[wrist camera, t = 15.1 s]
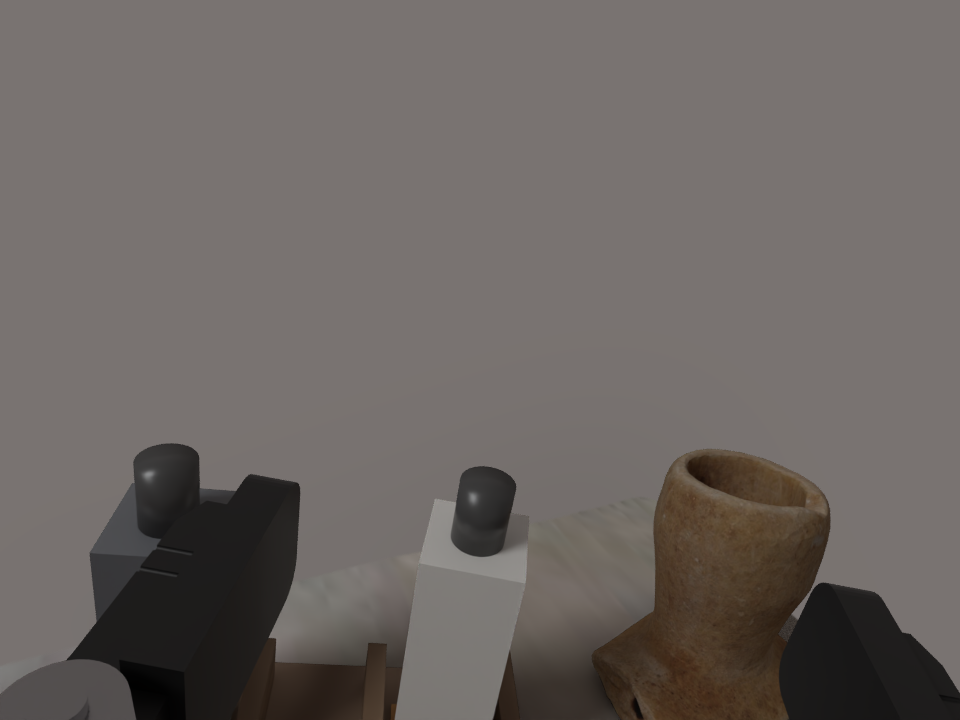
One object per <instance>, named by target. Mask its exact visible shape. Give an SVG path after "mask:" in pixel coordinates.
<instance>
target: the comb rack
mask: <svg viewBox="0 0 960 720" xmlns="http://www.w3.org/2000/svg"><path fill="white" fill-rule="evenodd" d="M386 648H387V644H379V643H369V644H368V652H367V660H366V666H348V665H325V664H302V663H279V662H275V652H276V639H275V638H268V640H267V642H266V644H265V646H264V648H263V650H262V652H261V654H260V657H259V659H258V661H257V663H256V665H255V667H254V669H253V671H252V674H251V676H250V678H249V680H248V682H247V684H246V686H245V688H244V690H243V693H242V695H241V697H240V699H239V701H238V703H237V705H236V707H235V710H234V712H233V714H232V716H231V720H395V714H396V707H397V701H398V695H399V688H400V682H401V675H402V669H403V668H394V667H386ZM493 720H520V716H519V709H518V702H517V695H516V688H515V681H514V675H513V668H512V661H511V654H510V650H509V655H508V659H507V663H506V667H505V671H504V675H503V679H502V683H501V687H500V692H499V696H498V700H497V704H496V708H495V712H494V716H493Z"/></svg>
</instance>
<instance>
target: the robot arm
mask: <svg viewBox="0 0 960 720" xmlns="http://www.w3.org/2000/svg"><path fill="white" fill-rule="evenodd" d="M299 505H300V486H299V484H298V483H296V482H291V481H285V480H280V479H275V478H269V477H264V476H259V475H253V474H250V475H248V476H247V477H246V478H245V479H244V481H243V482H242V484H241V485H240V487H239V488H238V489H237V491H236V492H235V494H234V495H233V497H232V498H231V499H230V501H229V502H228V504H223V503H217V502H212V501H205V502H204V503H202V504H201V505H199V506H197V507H196V508H194V509H193V510H191V511H189V512H188V513H186V514H185V515H183V516H181V517H180V518H178V519H177V520H176V521H175V522H174V524H173V525H172V526H171V527H170V529H169V530H168V531H167V533H166V534H165V535H164V536H163V538H162V539H161V540H160V542H159V543H158V544H157V548H156V550H153V551H152V552H151V553H150V554H149V556H148V557H147V558H146V560H145V561H144V562H143V563H142V565H141V567H140V570H139V572H138V571H136V572H135V574H134V575H133V576H132V577H131V579H130V580H129V581H128V583H127V584H126V585H125V586H124V588H123V589H122V590H121V592H120V593H119V594H118V595H117V597H116V598H115V599H114V601H113V602H112V603H111V604H110V606H109V607H108V608H107V610H106V611H105V612H104V613H103V615H102V616H101V617H100V619H99V620H98V621H97V622H96V624H95V625H94V626H93V628H92V629H91V630H90V632H89V633H88V634H87V635H86V637H85V638H84V639H83V641H82V642H81V643H80V644H79V646H78V647H77V648H76V649H75V651H74V652H73V653H72V654H71V655H70V657H69V658H68V659H67V660H66V661H62V662H58V663H54V664H51V665H48V666H45V667H42V668H40V669H37V670H35V671H33V672H31V673H29V674H27V675H26V676H24V677H22V678H21V679H19V680H17V681H16V682H15V683H13V684H12V685H11V686H9V687H8V688H7V689H6V690H5V691H4V692H2V693H1V694H0V720H230V718H231V716H232V714H233V712H234V710H235V707H236V705H237V703H238V701H239V699H240V697H241V695H242V693H243V690H244V688H245V686H246V684H247V682H248V680H249V678H250V676H251V674H252V671H253V669H254V667H255V665H256V663H257V661H258V659H259V657H260V654H261V652H262V650H263V648H264V646H265V644H266V642H267V640H268V638H269V635H270V633H271V631H272V629H273V627H274V625H275V623H276V621H277V618H278V616H279V614H280V612H281V610H282V608H283V606H284V604H285V601H286V599H287V596H288V594H289V591H290V588H291V584H292V581H293V577H294V571H295V566H296V558H297V541H298V523H299ZM779 686H780V692H781V696H782V700H783V703H784V705H785V708H786V711H787V714H788V717H789V720H960V693H959V692H958V690H957V688H956V687H955V685H954V683H953V682H952V680H951V679H950V677H949V675H948V674H947V672H946V671H945V669H944V667H943V666H942V665H941V664H940V663H939V662H938V661H937V660H936V659H935V658H934V657H933V656H932V655H931V654H930V653H929V652H928V651H927V650H926V649H925V648H924V647H923V646H922V645H921V644H920V643H919V642H918V641H916V639H915V638H914V637H912V635H911V634H906V633H902V632H901V630H900V628H899V627H898V625H897V623H896V622H895V620H894V618H893V617H892V615H891V613H890V611H889V610H888V608H887V607H886V605H885V603H884V601H883V600H882V599H881V597H880V596H879V595H878V594H876V593H875V592H871V591H866V590H861V589H855V588H850V587H845V586H840V585H834V584H829V583H820V584H818V585H817V586H816V587H815V588H814V589H813V591H812V593H811V594H810V597H809V599H808V601H807V603H806V605H805V607H804V609H803V611H802V613H801V615H800V618H799V620H798V622H797V624H796V626H795V628H794V630H793V632H792V634H791V636H790V639H789V641H788V643H787V645H786V647H785V649H784V651H783V654H782V657H781V661H780V667H779Z"/></svg>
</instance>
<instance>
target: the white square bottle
mask: <svg viewBox="0 0 960 720" xmlns="http://www.w3.org/2000/svg"><path fill="white" fill-rule="evenodd" d="M515 491H516V483H515V481H514V480H513V479H512V477H511V476H509V475H508V474H507V473H505V472H503V471H501V470H499V469H496V468H492V467H484V466H482V467H481V466H480V467H473V468H470V469H468V470H466V471H465V472H464V473H463V474H462V476H461V478H460V484H459V490H458V495H457V501H456V503H455V502H450V501H445V500H439V499H435V502H434V506H433V510H432V514H431V517H430V521H429V525H428V529H427V533H426V537H425V541H424V545H423V549H422V553H421V557H420V560H419V565H418V572H417V578H416V585H415V591H414V598H413V604H412V610H411V617H410V623H409V630H408V636H407V643H406V649H405V656H404V662H403V669H402V675H401V682H400V688H399V695H398V701H397V707H396V714H395V720H493V716H494V712H495V708H496V704H497V700H498V696H499V692H500V687H501V683H502V679H503V675H504V671H505V667H506V663H507V659H508V655H509V650H510V646H511V642H512V638H513V634H514V630H515V626H516V622H517V617H518V613H519V609H520V605H521V601H522V597H523V593H524V589H525V585H526V568H527V548H528V527H529V516H525V515H519V514H514V513H511V510H512V505H513V500H514V496H515Z"/></svg>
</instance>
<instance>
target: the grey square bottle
mask: <svg viewBox="0 0 960 720" xmlns="http://www.w3.org/2000/svg"><path fill="white" fill-rule="evenodd" d="M134 480H135V483H132V484H131V486H130V488H129V490H128V491H127V493H126V494H125V496H124V498H123V499H122V501H121V503H120V504H119V506H118V508H117V509H116V511H115V512H114V514H113V516H112V517H111V519H110V521H109V522H108V524H107V526H106V527H105V529H104V530H103V532H102V534H101V535H100V537H99V539H98V540H97V542H96V543H95V545H94V547H93V549H92V550H91V552H90V561H91V571H92V581H93V590H94V600H95V609H96V619H97V621H98V620H99V619H100V617H101V616H102V615H103V613H104V612H105V611H106V610H107V608H108V607H109V606H110V604H111V603H112V602H113V601H114V599H115V598H116V597H117V595H118V594H119V593H120V592H121V590H122V589H123V588H124V586H125V585H126V584H127V583H128V581H129V580H130V579H131V577H132V576H133V575H134V574H135V572H136V571H138V572H139V570H140V567H141V565H142V563H143V562H144V561H145V560H146V558H147V557H148V556H149V554H150V553H151V552H152V551H153V550H156V548H157V544H158V543H159V542H160V540H161V539H162V538H163V536H164V535H165V534H166V533H167V531H168V530H169V529H170V527H171V526H172V525H173V524H174V522H175V521H176V520H177V519H178V518H180V517H181V516H183V515H185V514H186V513H188V512H189V511H191V510H193V509H194V508H196V507H197V506H199V505H201V504H202V503H204V502H205V501H212V502H217V503H223V504H228V502H229V501H230V499H231V498H232V497H233V495H234V494H235V492H236V491H226V490H212V489H200V482H199V481H200V478H199V455H198V453H197V452H196V451H195V450H194V449H193V448H191V447H188V446H185V445H181V444H161V445H156V446H152V447H149V448H147V449H145V450H143V451H142V452H140V453H139V454H138V455H137V456H136V457H135V459H134ZM230 720H231V718H230Z"/></svg>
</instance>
